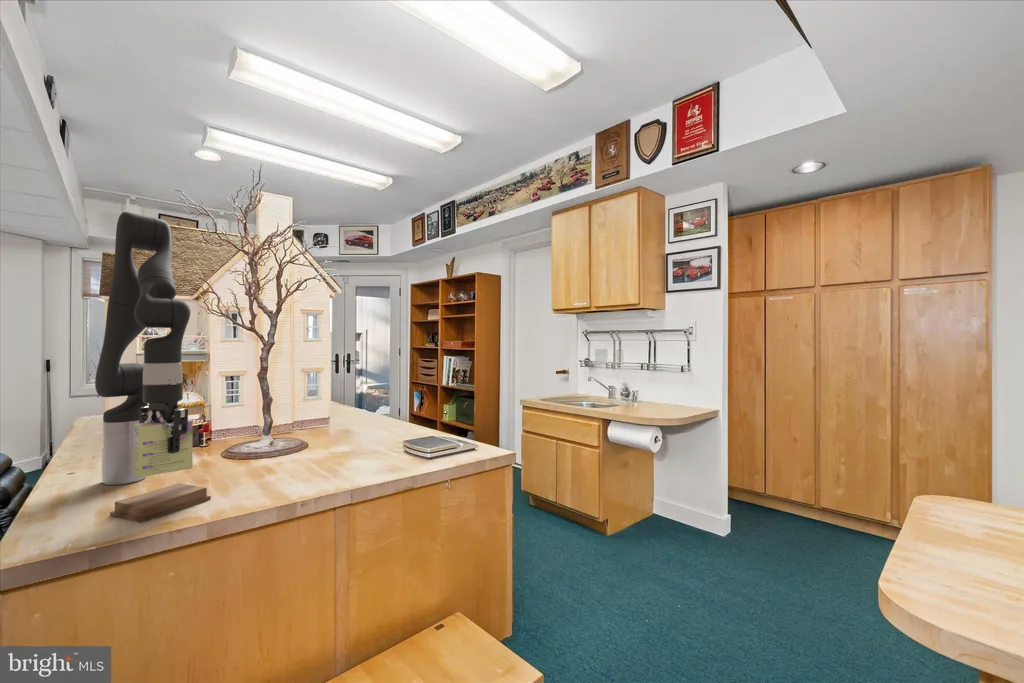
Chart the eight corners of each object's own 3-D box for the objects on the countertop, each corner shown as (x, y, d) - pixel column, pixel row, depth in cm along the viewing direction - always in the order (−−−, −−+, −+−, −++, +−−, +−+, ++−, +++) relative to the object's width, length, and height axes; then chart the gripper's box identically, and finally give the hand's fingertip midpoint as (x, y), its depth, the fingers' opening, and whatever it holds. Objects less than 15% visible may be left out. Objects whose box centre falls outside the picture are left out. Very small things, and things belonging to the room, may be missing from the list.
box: (185, 464, 112) (185, 417, 112) (193, 468, 108) (193, 420, 108) (132, 474, 104) (132, 423, 104) (138, 478, 100) (138, 426, 100)
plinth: (110, 515, 100) (110, 502, 100) (180, 494, 115) (180, 482, 115) (142, 522, 97) (142, 508, 97) (210, 499, 111) (210, 487, 111)
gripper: (125, 382, 105) (125, 452, 105) (166, 384, 100) (166, 457, 100) (159, 379, 112) (160, 445, 112) (200, 381, 107) (200, 450, 107)
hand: (163, 451), depth 106 cm, fingers closed on box, 6 cm apart
